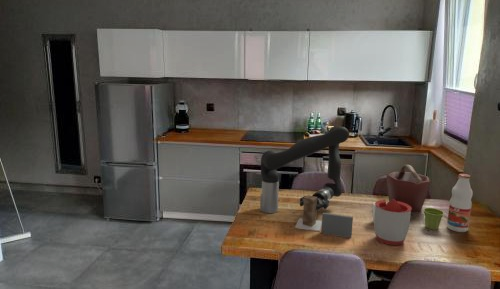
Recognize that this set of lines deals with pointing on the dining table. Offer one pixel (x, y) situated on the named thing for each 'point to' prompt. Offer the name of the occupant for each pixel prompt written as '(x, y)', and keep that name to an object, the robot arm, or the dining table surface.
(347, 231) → the charcoal board
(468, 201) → the fruit juice
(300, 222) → the grey pad
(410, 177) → the bucket
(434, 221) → the plant pot
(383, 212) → the citrus juicer
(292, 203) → the dining table surface
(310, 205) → the walnut block
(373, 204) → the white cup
